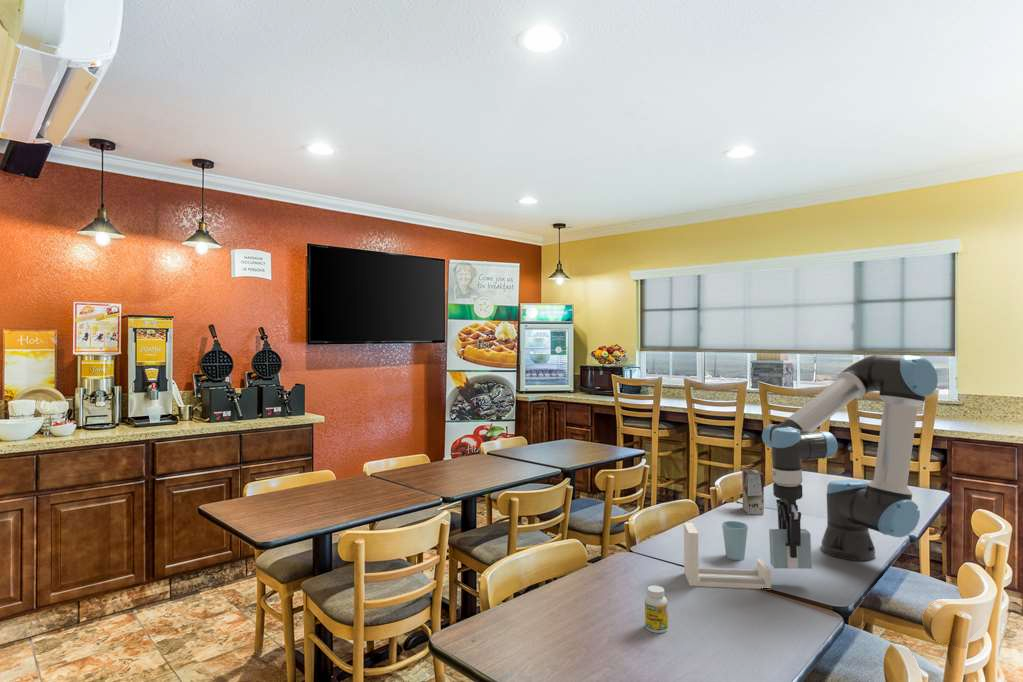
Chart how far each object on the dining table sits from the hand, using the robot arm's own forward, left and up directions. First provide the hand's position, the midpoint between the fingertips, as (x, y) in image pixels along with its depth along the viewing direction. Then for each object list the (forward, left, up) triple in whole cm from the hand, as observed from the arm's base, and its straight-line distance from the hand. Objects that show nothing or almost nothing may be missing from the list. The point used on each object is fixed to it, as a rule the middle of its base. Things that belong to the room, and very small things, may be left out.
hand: (790, 564), depth 167 cm
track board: (+18, 0, -5) cm, 18 cm away
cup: (+11, -19, -5) cm, 22 cm away
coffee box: (-8, -70, -5) cm, 70 cm away
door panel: (0, 0, 0) cm, 0 cm away
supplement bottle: (+41, +30, -5) cm, 51 cm away
